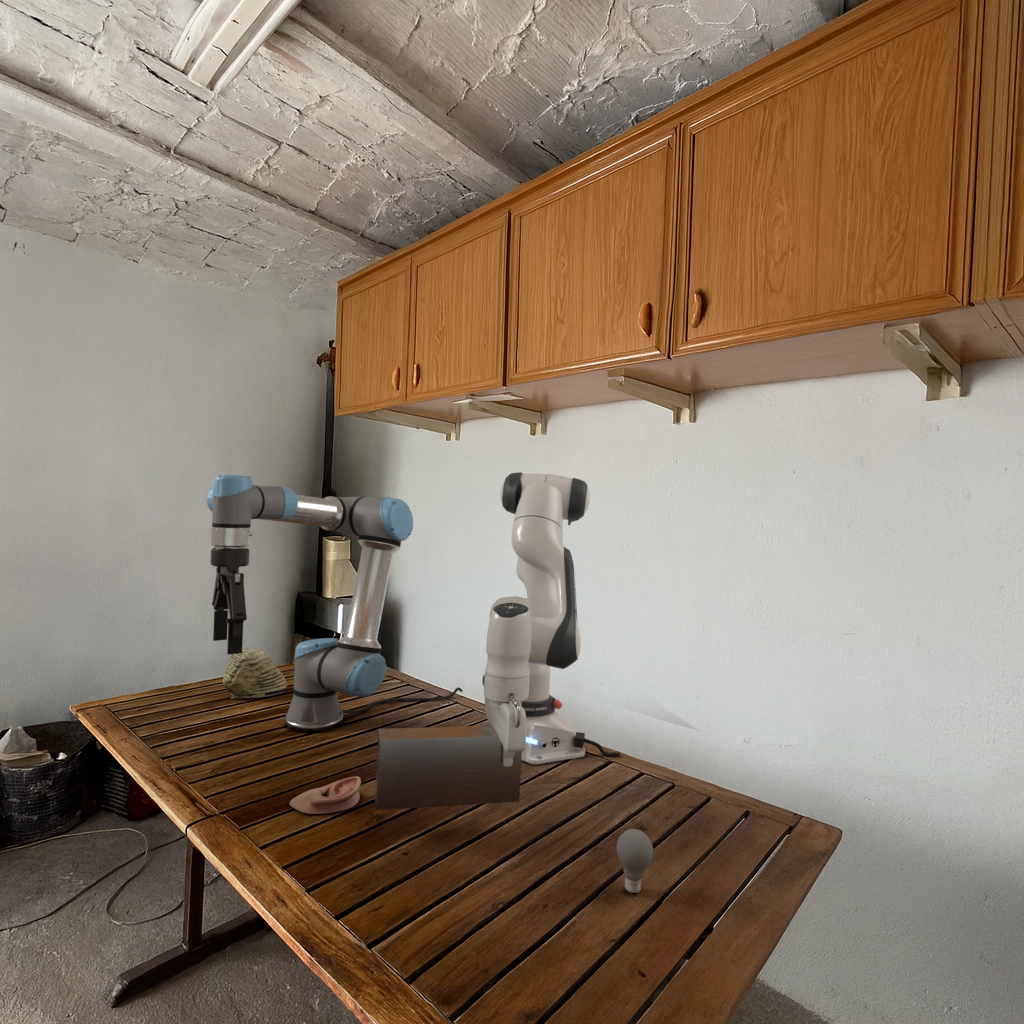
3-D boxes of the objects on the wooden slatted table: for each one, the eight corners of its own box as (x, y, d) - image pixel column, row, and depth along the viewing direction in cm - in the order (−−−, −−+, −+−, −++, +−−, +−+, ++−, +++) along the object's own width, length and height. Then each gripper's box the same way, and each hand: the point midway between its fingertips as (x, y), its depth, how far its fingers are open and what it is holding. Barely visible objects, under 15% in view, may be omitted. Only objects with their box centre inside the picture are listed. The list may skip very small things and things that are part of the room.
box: (375, 810, 116) (379, 740, 116) (374, 795, 122) (378, 728, 122) (519, 801, 122) (522, 735, 122) (511, 788, 128) (515, 724, 128)
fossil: (218, 695, 195) (220, 647, 195) (278, 685, 208) (279, 640, 207) (228, 703, 189) (230, 653, 188) (289, 692, 201) (290, 645, 201)
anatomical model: (281, 790, 127) (311, 767, 138) (281, 810, 127) (310, 785, 138) (342, 799, 124) (367, 775, 136) (342, 819, 124) (367, 793, 136)
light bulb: (610, 879, 108) (613, 822, 108) (644, 879, 109) (647, 822, 109) (619, 902, 102) (622, 840, 102) (655, 901, 103) (658, 840, 103)
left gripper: (265, 552, 127) (261, 657, 127) (235, 542, 147) (232, 633, 147) (224, 552, 122) (221, 662, 123) (199, 542, 143) (196, 636, 143)
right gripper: (536, 703, 115) (532, 779, 115) (510, 673, 135) (506, 737, 135) (502, 704, 114) (498, 781, 114) (481, 673, 133) (477, 738, 134)
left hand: (227, 646), depth 135 cm, fingers open, 13 cm apart
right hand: (502, 757), depth 125 cm, fingers closed on box, 6 cm apart
